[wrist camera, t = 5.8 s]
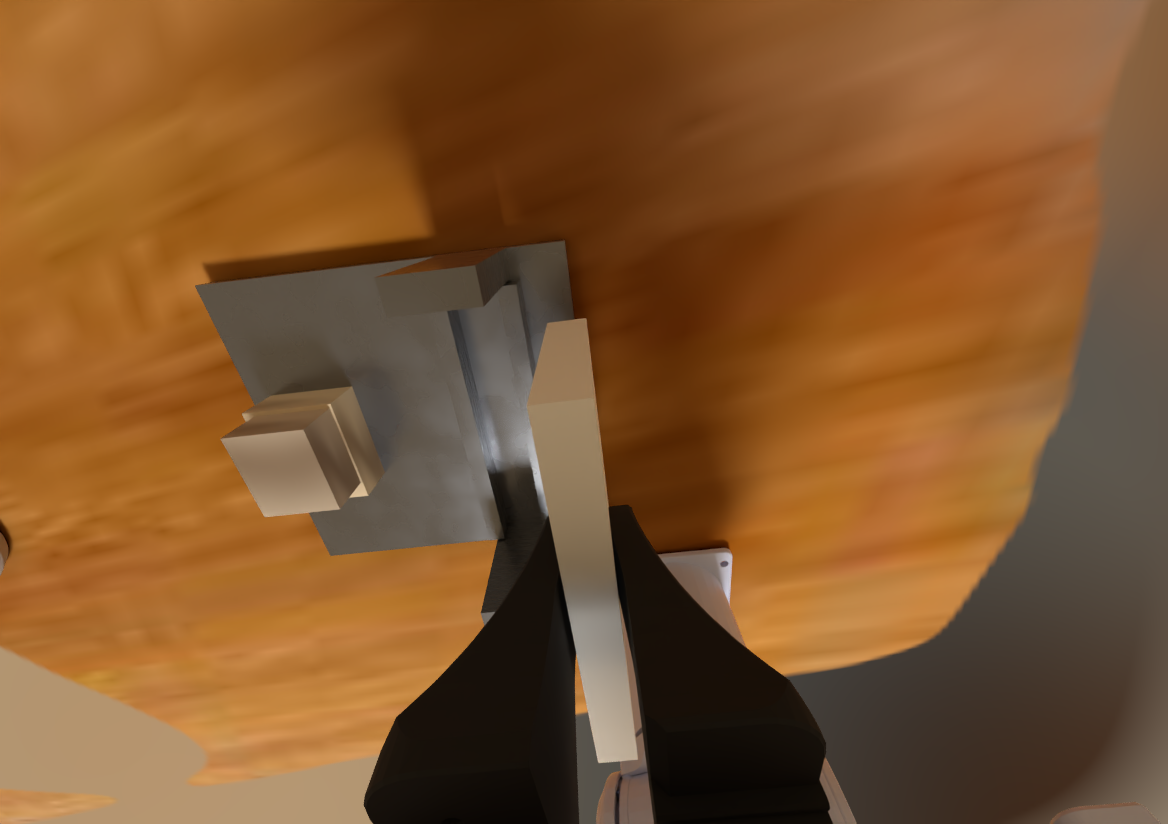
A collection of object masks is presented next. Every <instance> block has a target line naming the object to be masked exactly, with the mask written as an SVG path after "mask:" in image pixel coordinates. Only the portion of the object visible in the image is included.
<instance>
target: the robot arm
mask: <svg viewBox="0 0 1168 824" xmlns="http://www.w3.org/2000/svg"><path fill="white" fill-rule="evenodd" d="M608 508H609V518H610V528H611V536H612V544H613V552H614V561H615V569H616V577H617V585H618V594H619V599H620V604H621V613H622V622H623V631H624V640H625V649H626V658H627V666H628V675H629V684H630V693H631V702H632V711H633V719H634V728H635V737H636V746H637V755H638V760H628V761H620V762H621V771H618V772H613V773H611V774H610V775H609V777H608V779H607V781H606V783H605V787H604V790H603V792H602V794H601V797H600V800H599V804H598V809H597V817H596V824H857V823H856V821H855V819H854V817H853V814H852V812H851V810H850V808H849V805H848V803H847V801H846V799H845V797H844V794H843V792H842V790H841V788H840V786H839V784H838V782H837V780H836V778H835V776H834V773H833V772H832V770H831V767H830V765H829V764H828V762H827V760H826V758H825V754H826V742H825V740H824V738H823V735H822V733H821V730H820V728H819V726H818V725H817V722H816V721H815V719H814V717H813V716H812V714H811V712H810V710H809V709H808V707H807V706H806V704H805V702H804V701H803V699H802V698H801V696H800V695H799V693H798V692H797V691H796V689H795V687H794V686H793V685H792V683H791V682H790V680H788V679H787V678H786V677H784V676H783V675H781V674H780V673H779V672H777V671H776V670H775V669H773V668H772V667H770V666H769V665H768V664H766V663H765V662H764V661H763V660H761V659H760V658H759V657H757V656H756V655H755V654H753V653H752V652H751V651H750V650H749V649H747V648H746V646H745V643H744V641H743V638H742V635H741V633H740V630H739V628H738V625H737V623H736V620H735V618H734V615H733V613H732V610H731V607H730V588H731V572H732V554H731V551H730V550H729V549H727V548H718V549H708V550H697V551H687V552H677V553H667V554H657V553H656V551H655V550H654V548H653V547H652V545H651V544H650V542H649V541H648V539H647V538H646V536H645V534H644V533H643V531H642V529H641V527H640V526H639V524H638V522H637V520H636V518H635V515H634V513H633V511H632V508H631V507H630V506H629V505H621V506H612V507H608ZM722 561H725V562H722ZM575 660H576V649H575V644H574V639H573V634H572V629H571V624H570V619H569V614H568V609H567V604H566V599H565V594H564V589H563V584H562V579H561V574H560V569H559V564H558V559H557V554H556V549H555V544H554V539H553V535H552V530H551V525H550V520H549V515H548V516H547V518H546V521H545V524H544V526H543V529H542V531H541V533H540V535H539V538H538V540H537V542H536V544H535V546H534V548H533V550H532V552H531V554H530V556H529V558H528V560H527V562H526V564H525V565H524V567H523V569H522V571H521V572H520V574H519V576H518V578H517V579H516V581H515V583H514V584H513V586H512V588H511V589H510V591H509V592H508V594H507V595H506V597H505V598H504V600H503V601H502V603H501V604H500V606H499V607H498V609H497V610H496V611H495V613H494V614H493V616H492V617H491V618H490V620H489V621H488V622H487V623H486V625H485V626H484V627H483V628H482V630H481V631H480V632H479V634H478V635H477V636H476V637H475V639H474V640H473V641H472V642H471V643H470V645H469V646H468V647H467V648H466V649H465V650H464V651H463V652H462V654H461V655H460V656H459V657H458V658H457V659H456V660H455V661H454V662H453V663H452V664H451V665H450V666H449V668H448V669H447V670H446V671H445V672H444V673H443V674H442V675H441V676H440V677H439V678H438V679H437V680H436V681H435V682H434V683H433V684H432V685H431V686H430V687H429V688H428V689H427V690H426V691H425V692H424V693H422V694H421V695H420V696H419V697H418V698H417V699H416V700H415V701H414V702H413V703H412V704H411V705H410V706H408V707H407V708H406V709H405V710H404V711H403V712H402V713H401V714H399V715H398V716H397V717H396V719H395V721H394V724H393V726H392V728H391V730H390V732H389V734H388V736H387V738H386V741H385V743H384V745H383V747H382V750H381V752H380V755H379V758H378V761H377V763H376V766H375V769H374V772H373V775H372V777H371V780H370V783H369V786H368V788H367V791H366V794H365V799H364V807H365V809H366V812H367V814H368V816H369V818H370V820H371V821H372V823H373V824H579V808H578V784H577V783H578V782H577V753H576V723H575V721H576V720H575ZM1050 824H1161V823H1160V822H1159V821H1158V820H1157V819H1156V818H1155V817H1154V816H1153V814H1151V812H1150V811H1149V810H1148V809H1147V808H1146V807H1145V806H1143V805H1141V804H1138V803H1136V802H1131V803H1118V804H1106V805H1093V806H1081V807H1075V808H1070V809H1067V810H1065V811H1062V812H1060V813H1058V814H1057V815H1056V816H1054V818H1053V819H1052V820H1051V822H1050Z"/></svg>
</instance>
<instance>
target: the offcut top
mask: <svg viewBox="0 0 1168 824" xmlns="http://www.w3.org/2000/svg"><path fill="white" fill-rule="evenodd" d="M221 441H222V442H223V444H224V446H225V448H226V449H227V451H228V453H229V455H230V457H231V458H232V460H233V462H234V464H235V465H236V467H237V469H238V471H239V472H240V474H241V476H242V478H243V480H244V481H245V483H246V485H247V487H248V488H249V490H250V492H251V494H252V496H253V497H254V499H255V501H256V503H257V504H258V506H259V508H260V510H261V511H262V513H263V515H264V517H271V516H281V515H290V514H300V513H310V512H319V511H329V510H338V509H341V507H342V506H343V505H344V503H345V502H346V501H347V500H348V498H349V497H350V496H351V495H352V493H353V492H354V491H355V489H356V488H357V487H358V486H359V484H360V483H361V482H360V479H359V477H358V475H357V472H356V470H355V467H354V465H353V463H352V460H351V458H350V455H349V453H348V451H347V448H346V446H345V443H344V441H343V439H342V436H341V434H340V432H339V429H338V427H337V424H336V422H335V420H334V417H333V415H332V412H331V410H330V408H326V409H317V410H308V411H299V412H290V413H281V414H272V415H263V416H255V417H253V418H252V419H250V420H249V421H247V422H245V423H244V424H242V425H241V426H239V427H238V428H236V429H235V430H233V431H232V432H230V433H229V434H227V435H225V436H224V437H222V438H221Z"/></svg>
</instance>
